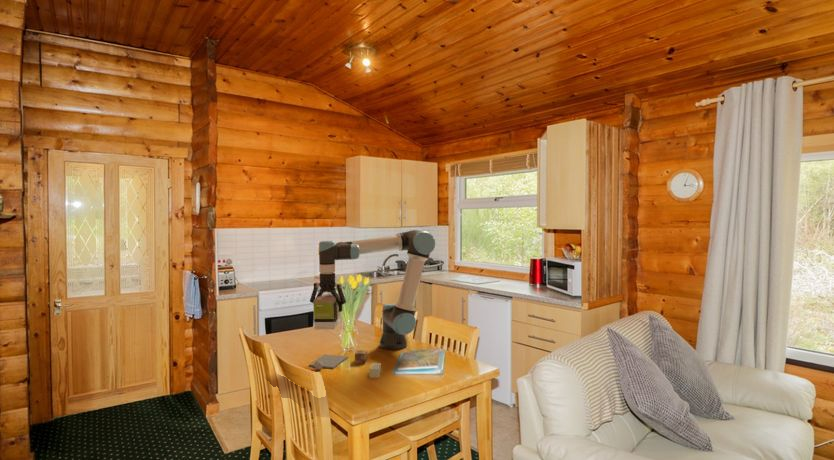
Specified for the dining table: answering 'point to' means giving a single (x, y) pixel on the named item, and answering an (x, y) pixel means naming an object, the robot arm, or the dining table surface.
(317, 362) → the grey rubber ball
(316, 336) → the dining table surface
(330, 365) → the slate trivet
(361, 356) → the walnut cube
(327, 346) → the dining table surface
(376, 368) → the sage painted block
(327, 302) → the tea box
